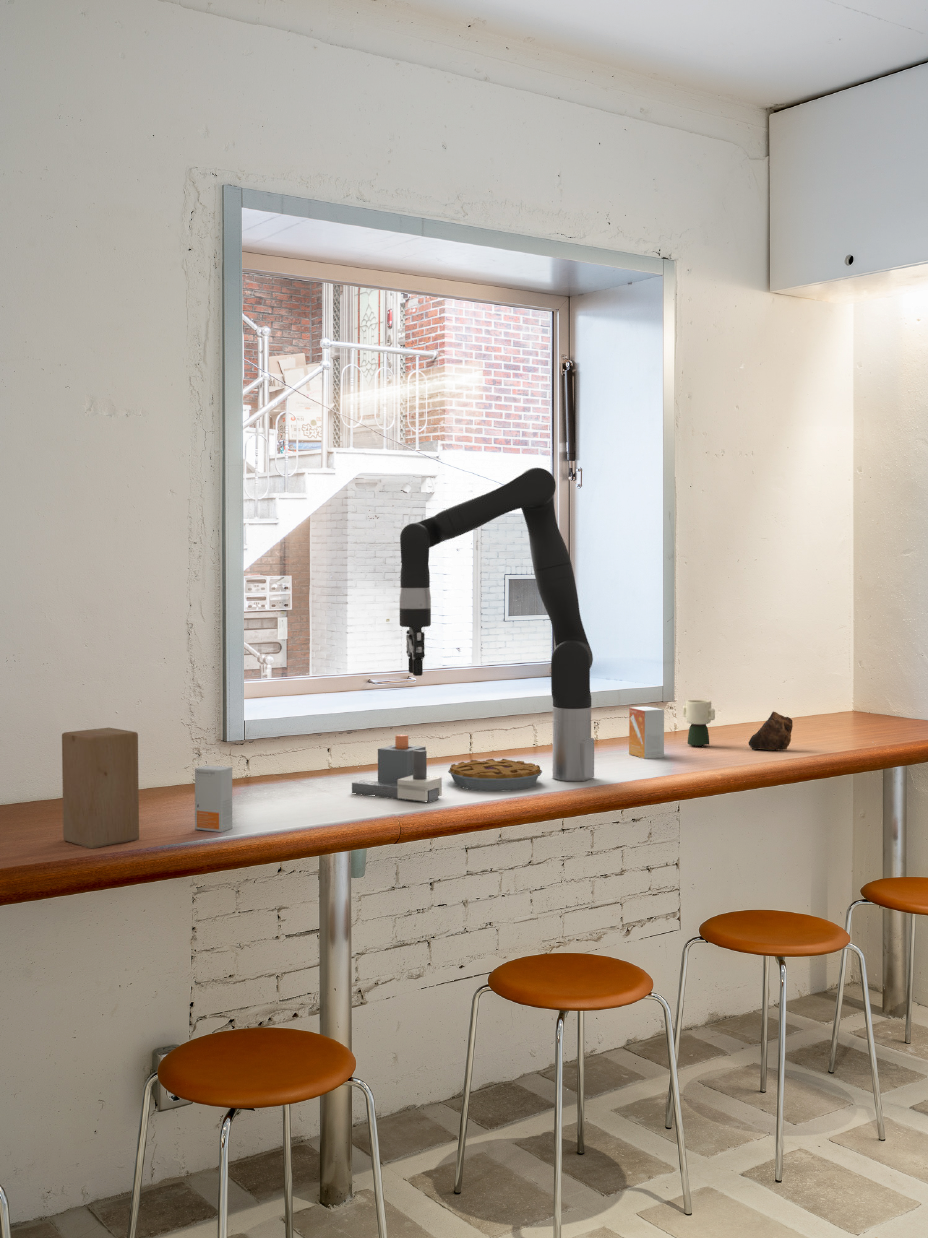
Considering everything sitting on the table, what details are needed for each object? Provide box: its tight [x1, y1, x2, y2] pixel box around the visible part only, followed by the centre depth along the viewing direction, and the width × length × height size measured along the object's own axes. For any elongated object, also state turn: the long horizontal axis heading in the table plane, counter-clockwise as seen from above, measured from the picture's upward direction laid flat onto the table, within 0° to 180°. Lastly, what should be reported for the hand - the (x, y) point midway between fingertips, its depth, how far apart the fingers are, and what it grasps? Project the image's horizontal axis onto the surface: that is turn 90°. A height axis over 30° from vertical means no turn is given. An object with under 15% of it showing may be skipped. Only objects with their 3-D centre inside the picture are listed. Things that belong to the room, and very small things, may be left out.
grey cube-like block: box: [377, 744, 427, 784], centre depth 261 cm, size 8×8×9 cm
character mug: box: [682, 699, 716, 747], centre depth 323 cm, size 11×7×13 cm, turn 42°
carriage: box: [397, 750, 443, 801], centre depth 246 cm, size 7×7×10 cm
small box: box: [628, 705, 665, 760], centre depth 306 cm, size 8×6×13 cm
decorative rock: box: [748, 711, 794, 751], centre depth 316 cm, size 12×6×11 cm, turn 80°
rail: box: [351, 779, 439, 803], centre depth 249 cm, size 20×4×2 cm, turn 61°
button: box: [394, 734, 409, 750], centre depth 261 cm, size 3×3×4 cm
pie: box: [447, 758, 543, 792], centre depth 265 cm, size 22×22×5 cm
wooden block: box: [61, 727, 140, 849], centre depth 208 cm, size 10×10×20 cm
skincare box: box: [194, 764, 233, 833], centre depth 217 cm, size 6×4×12 cm
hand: (415, 674), depth 272 cm, fingers open, 8 cm apart
